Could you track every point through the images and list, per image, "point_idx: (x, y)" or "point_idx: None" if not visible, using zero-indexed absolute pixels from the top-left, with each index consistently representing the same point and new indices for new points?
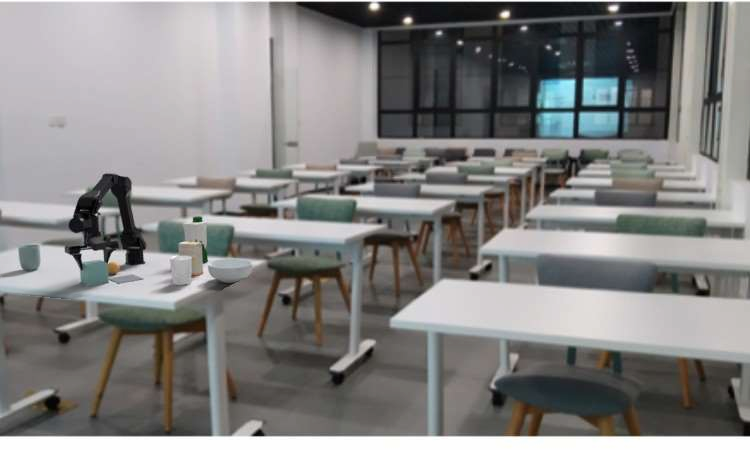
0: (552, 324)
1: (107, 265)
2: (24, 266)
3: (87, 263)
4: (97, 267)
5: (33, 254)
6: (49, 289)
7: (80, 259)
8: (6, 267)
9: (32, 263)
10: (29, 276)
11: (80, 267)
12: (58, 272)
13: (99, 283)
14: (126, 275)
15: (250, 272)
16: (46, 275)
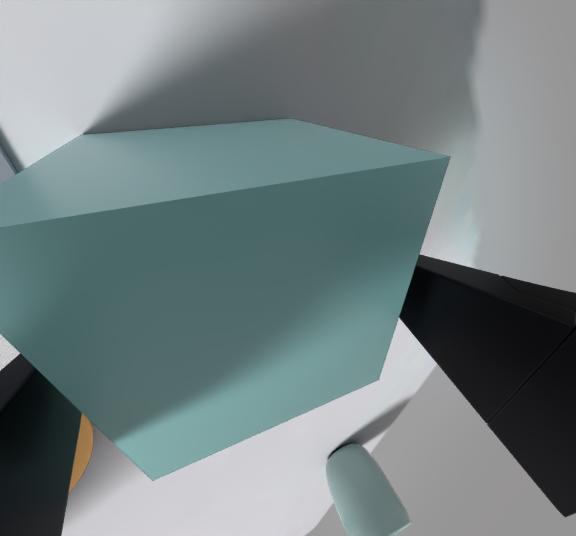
0: None
1: (75, 471)
2: (368, 453)
3: (351, 325)
4: (237, 168)
5: (373, 503)
6: (462, 187)
7: (553, 309)
8: None
9: (359, 466)
10: (378, 398)
11: (419, 256)
12: (301, 432)
13: (189, 126)
14: None
15: None
16: (343, 404)
